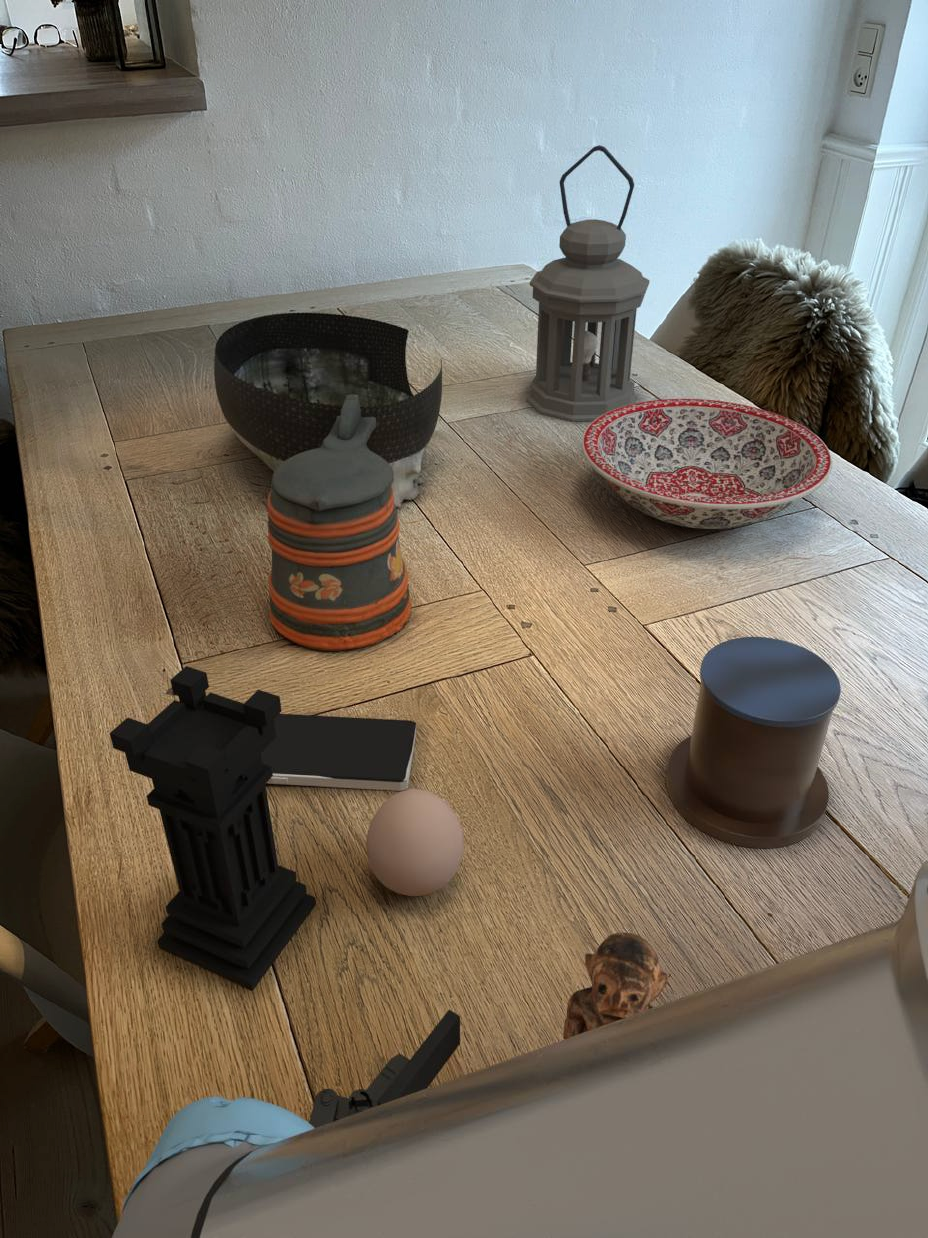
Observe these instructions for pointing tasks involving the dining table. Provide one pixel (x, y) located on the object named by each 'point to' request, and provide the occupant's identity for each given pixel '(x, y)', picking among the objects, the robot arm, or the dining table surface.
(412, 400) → the basket
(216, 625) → the dining table surface
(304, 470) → the tankard
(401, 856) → the egg
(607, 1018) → the figurine
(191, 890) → the chess piece
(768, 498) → the ceramic bowl
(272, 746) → the smartphone
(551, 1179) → the robot arm
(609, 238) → the lantern
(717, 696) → the pedestal
